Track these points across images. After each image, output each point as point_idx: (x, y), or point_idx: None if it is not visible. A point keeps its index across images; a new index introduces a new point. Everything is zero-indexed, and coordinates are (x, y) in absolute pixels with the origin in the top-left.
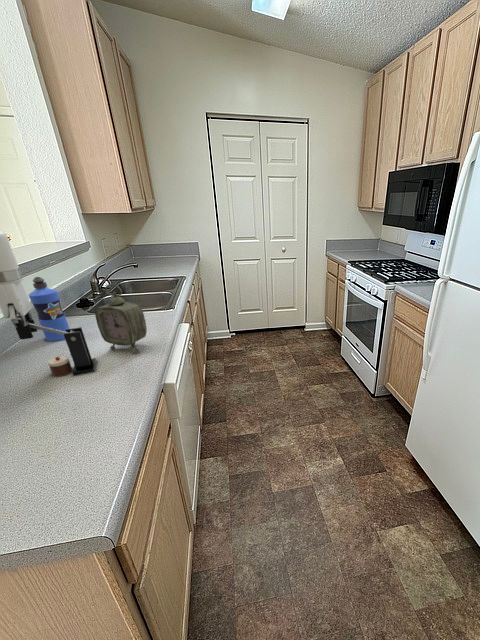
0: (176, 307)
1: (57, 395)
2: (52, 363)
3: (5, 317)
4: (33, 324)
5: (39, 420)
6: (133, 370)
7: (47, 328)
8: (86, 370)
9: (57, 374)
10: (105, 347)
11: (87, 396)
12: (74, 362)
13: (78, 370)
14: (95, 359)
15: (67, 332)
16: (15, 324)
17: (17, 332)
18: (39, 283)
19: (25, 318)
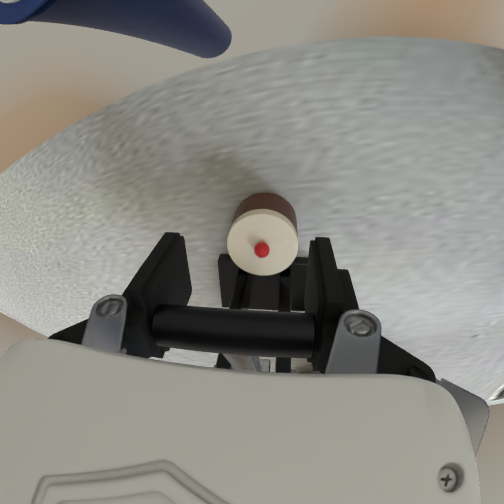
0: (495, 401)
1: (111, 226)
2: (233, 231)
3: (12, 349)
4: (237, 358)
5: (33, 210)
6: (196, 360)
7: (235, 369)
8: (221, 291)
9: (235, 214)
10: (400, 318)
11: (97, 283)
12: (235, 286)
13: (226, 274)
14: (299, 309)
15: None
16: (66, 333)
17: (147, 260)
18: None
19: (326, 354)
